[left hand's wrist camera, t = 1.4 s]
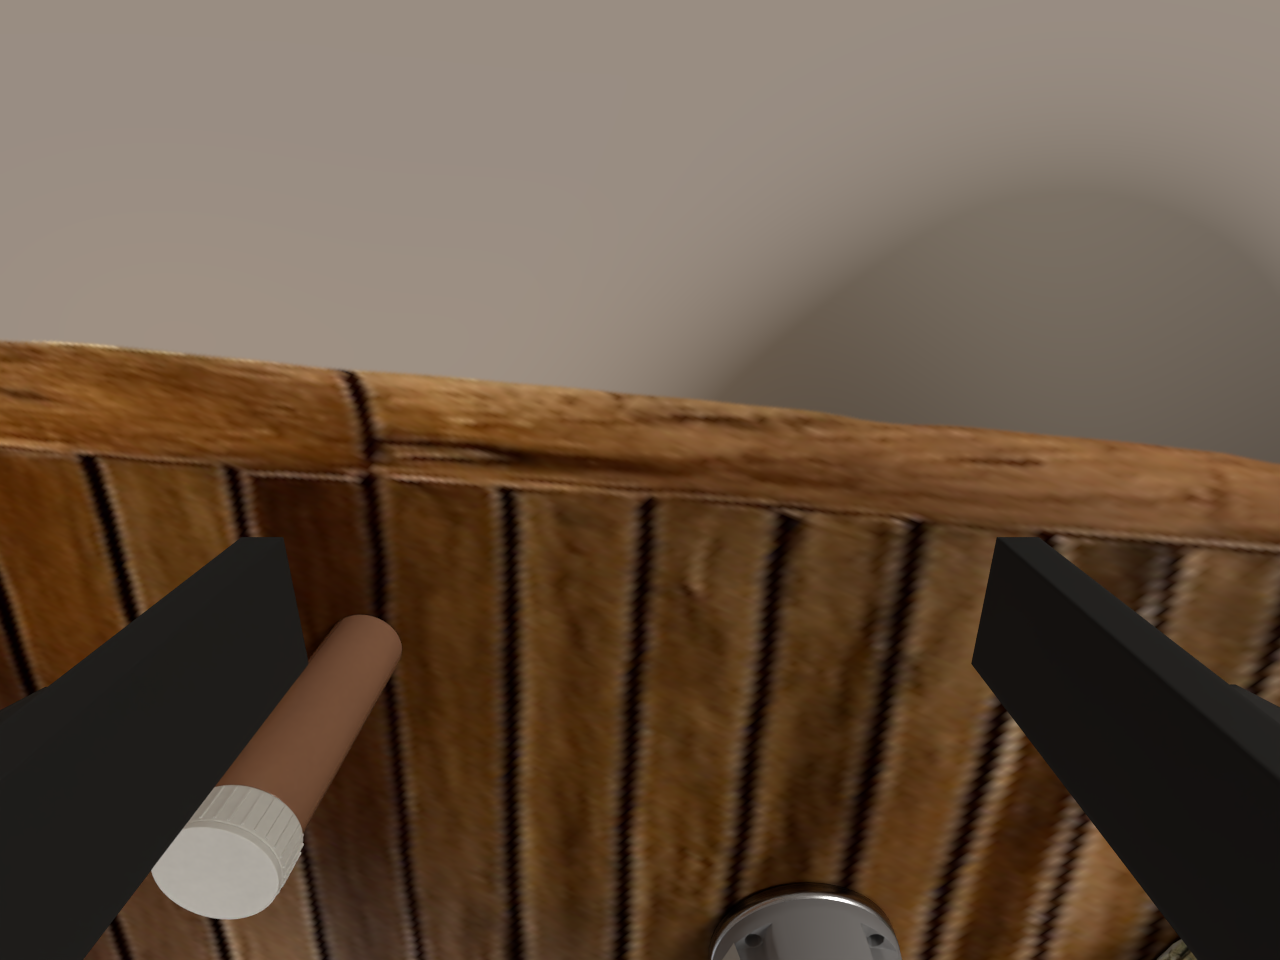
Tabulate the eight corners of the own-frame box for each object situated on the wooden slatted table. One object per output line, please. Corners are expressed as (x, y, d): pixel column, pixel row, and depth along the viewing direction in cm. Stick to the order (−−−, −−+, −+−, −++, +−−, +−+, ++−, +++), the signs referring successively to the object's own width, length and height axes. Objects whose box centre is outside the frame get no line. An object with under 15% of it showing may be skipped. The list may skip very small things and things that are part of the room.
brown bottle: (314, 635, 46) (139, 852, 30) (371, 602, 45) (222, 807, 29) (360, 686, 47) (218, 920, 31) (417, 655, 46) (299, 879, 30)
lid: (157, 814, 31) (120, 859, 29) (248, 764, 30) (217, 806, 28) (241, 889, 33) (212, 937, 31) (330, 844, 32) (306, 890, 30)
